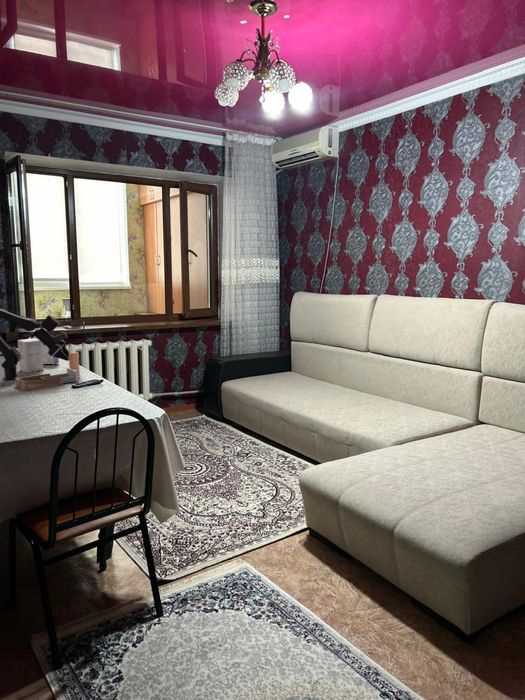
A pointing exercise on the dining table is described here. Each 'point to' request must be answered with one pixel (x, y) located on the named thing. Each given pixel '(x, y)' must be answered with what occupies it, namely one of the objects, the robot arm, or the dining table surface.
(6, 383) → the dining table surface
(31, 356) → the supplement box
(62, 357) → the robot arm
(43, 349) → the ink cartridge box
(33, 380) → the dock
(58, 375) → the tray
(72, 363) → the canister
